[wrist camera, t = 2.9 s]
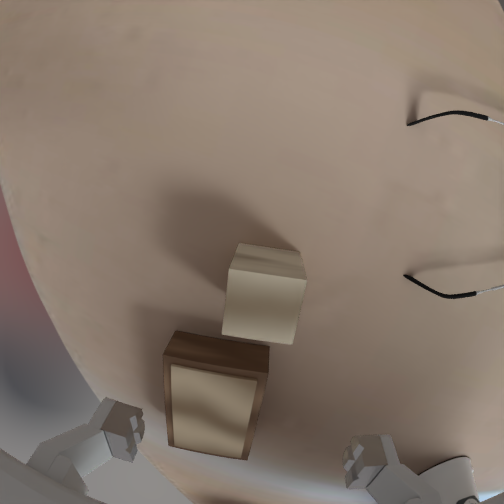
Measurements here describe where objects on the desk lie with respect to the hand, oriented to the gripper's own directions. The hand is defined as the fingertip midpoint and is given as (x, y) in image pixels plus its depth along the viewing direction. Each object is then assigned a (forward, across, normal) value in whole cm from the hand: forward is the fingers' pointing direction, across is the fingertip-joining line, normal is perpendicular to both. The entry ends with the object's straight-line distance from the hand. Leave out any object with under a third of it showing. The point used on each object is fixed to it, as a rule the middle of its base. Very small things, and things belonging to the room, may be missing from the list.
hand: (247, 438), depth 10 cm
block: (+17, 0, 0) cm, 17 cm away
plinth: (+17, +3, +14) cm, 22 cm away
